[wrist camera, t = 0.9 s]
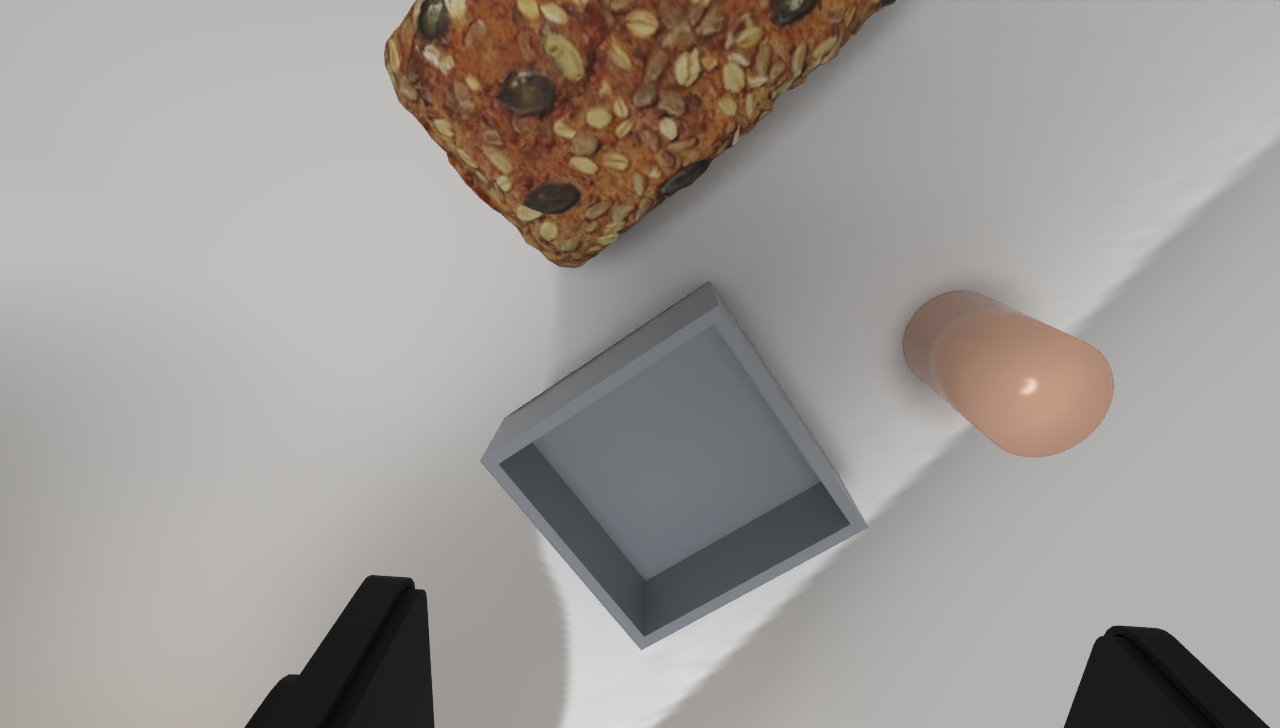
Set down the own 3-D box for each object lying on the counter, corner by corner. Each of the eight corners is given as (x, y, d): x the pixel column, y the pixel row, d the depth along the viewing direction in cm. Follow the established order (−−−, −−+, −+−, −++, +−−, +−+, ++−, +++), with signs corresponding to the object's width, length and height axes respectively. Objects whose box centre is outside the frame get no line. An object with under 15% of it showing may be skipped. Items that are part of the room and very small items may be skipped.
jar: (977, 271, 31) (1082, 310, 23) (1021, 351, 32) (1133, 414, 24) (885, 327, 32) (956, 382, 24) (931, 403, 33) (1012, 478, 26)
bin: (709, 281, 31) (718, 304, 27) (839, 475, 35) (868, 527, 30) (504, 417, 34) (479, 461, 29) (643, 586, 37) (641, 650, 32)
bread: (762, -258, 25) (827, -512, 15) (911, -20, 27) (1047, -111, 18) (430, 79, 29) (320, 44, 19) (585, 259, 31) (555, 307, 22)
